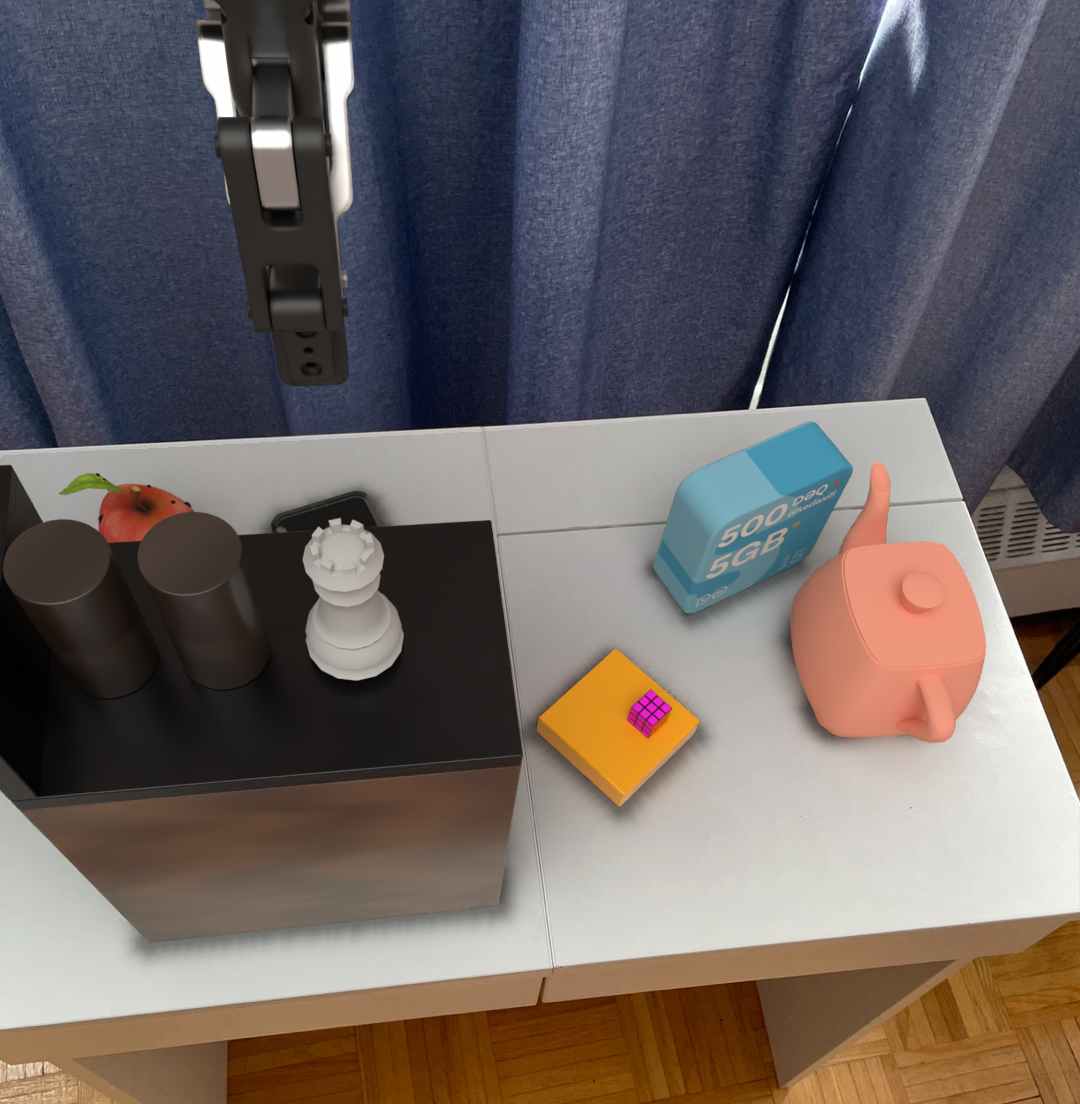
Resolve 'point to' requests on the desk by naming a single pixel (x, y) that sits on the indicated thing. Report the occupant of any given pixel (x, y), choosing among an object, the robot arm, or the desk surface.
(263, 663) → the dark brown cylinder
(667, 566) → the data package
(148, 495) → the apple
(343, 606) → the rook chess piece
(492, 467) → the desk surface
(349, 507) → the phone
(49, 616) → the dark brown cylinder
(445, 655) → the black flat slab
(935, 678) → the teapot
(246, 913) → the wooden panel
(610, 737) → the orange square tile
